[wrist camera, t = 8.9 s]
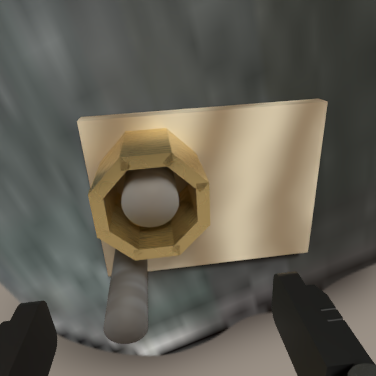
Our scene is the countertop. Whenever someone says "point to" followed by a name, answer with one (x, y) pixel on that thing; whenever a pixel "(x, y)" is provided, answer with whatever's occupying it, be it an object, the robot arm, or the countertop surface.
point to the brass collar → (141, 159)
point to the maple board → (213, 191)
